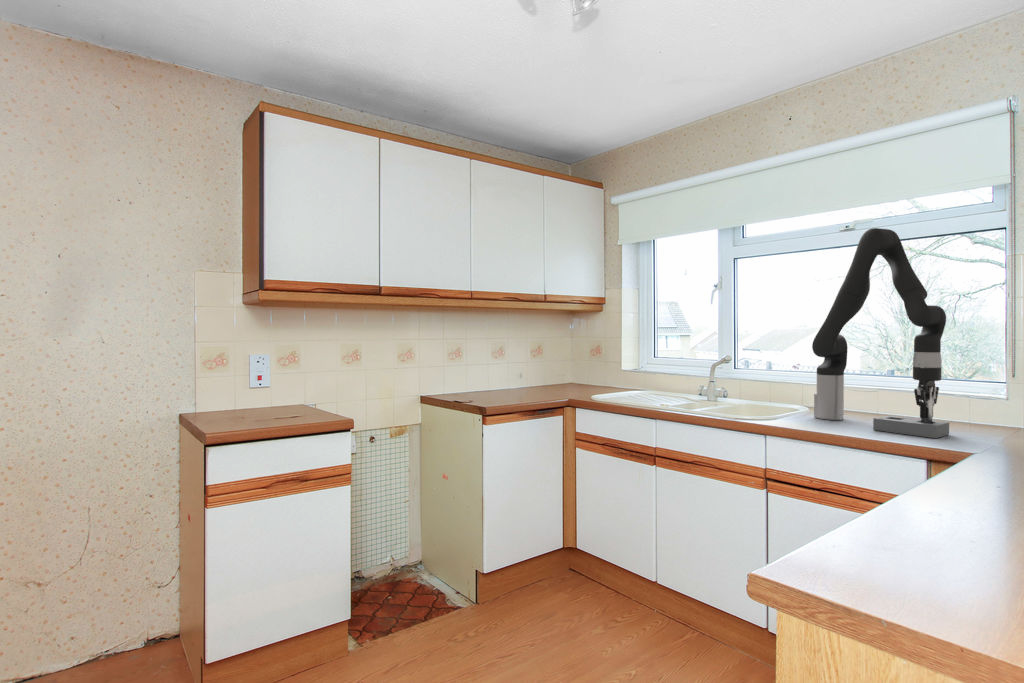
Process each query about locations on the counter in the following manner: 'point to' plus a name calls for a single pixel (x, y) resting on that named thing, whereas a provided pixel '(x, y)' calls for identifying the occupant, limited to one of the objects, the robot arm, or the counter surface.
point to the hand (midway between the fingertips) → (926, 417)
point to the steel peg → (929, 413)
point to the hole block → (911, 426)
